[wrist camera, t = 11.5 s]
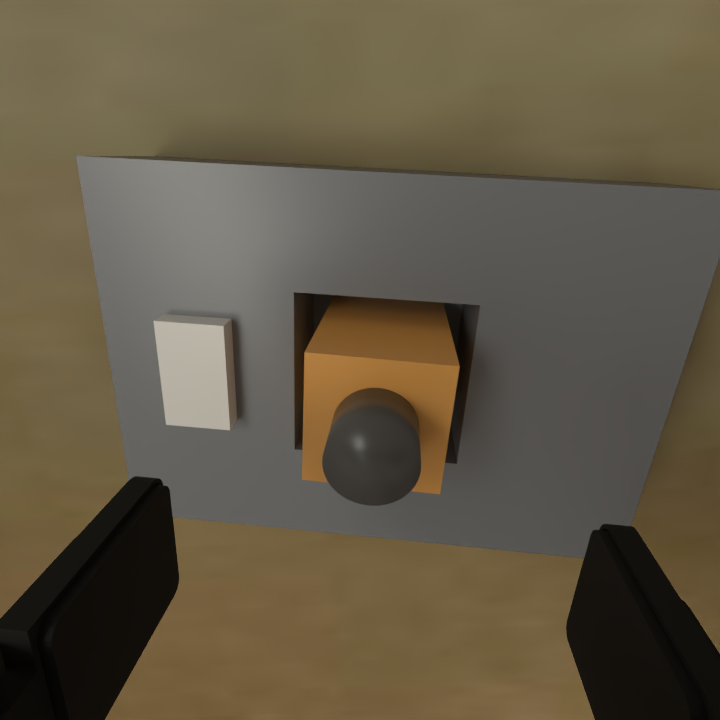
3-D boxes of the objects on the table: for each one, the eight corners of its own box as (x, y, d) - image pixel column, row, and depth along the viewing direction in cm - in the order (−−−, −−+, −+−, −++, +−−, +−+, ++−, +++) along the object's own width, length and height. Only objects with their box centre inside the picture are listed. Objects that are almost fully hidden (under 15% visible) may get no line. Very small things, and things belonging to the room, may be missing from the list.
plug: (442, 299, 20) (468, 398, 12) (429, 394, 22) (444, 540, 13) (336, 290, 20) (288, 381, 12) (332, 385, 22) (288, 522, 14)
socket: (658, 183, 19) (760, 193, 13) (578, 484, 24) (627, 577, 19) (152, 156, 20) (59, 155, 15) (183, 448, 25) (124, 526, 20)
